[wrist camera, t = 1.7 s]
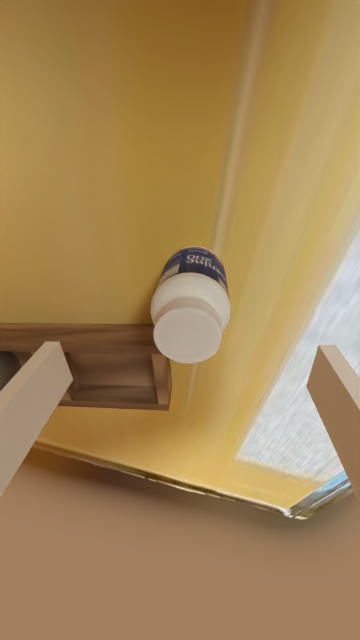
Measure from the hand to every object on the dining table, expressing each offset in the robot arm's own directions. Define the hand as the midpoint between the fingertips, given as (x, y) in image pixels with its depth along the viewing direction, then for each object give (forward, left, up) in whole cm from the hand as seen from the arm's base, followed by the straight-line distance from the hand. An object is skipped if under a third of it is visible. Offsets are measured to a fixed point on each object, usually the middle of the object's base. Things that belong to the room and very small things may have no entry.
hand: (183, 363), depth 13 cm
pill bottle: (0, 0, -12) cm, 12 cm away
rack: (+10, -15, -11) cm, 21 cm away
